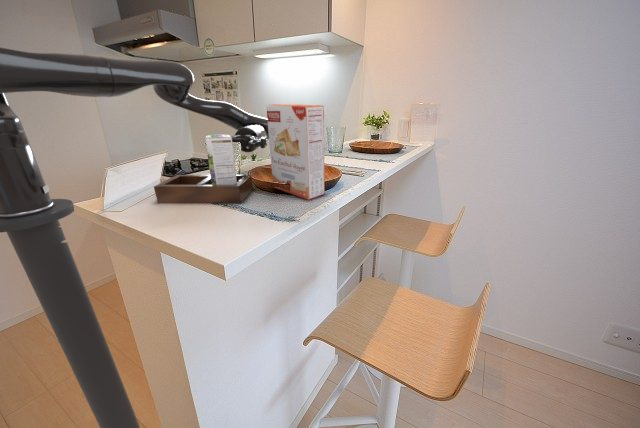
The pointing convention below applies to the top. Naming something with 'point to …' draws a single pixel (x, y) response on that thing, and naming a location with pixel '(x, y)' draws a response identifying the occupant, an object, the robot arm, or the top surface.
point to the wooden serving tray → (202, 190)
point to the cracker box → (297, 148)
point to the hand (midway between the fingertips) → (234, 146)
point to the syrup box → (221, 159)
